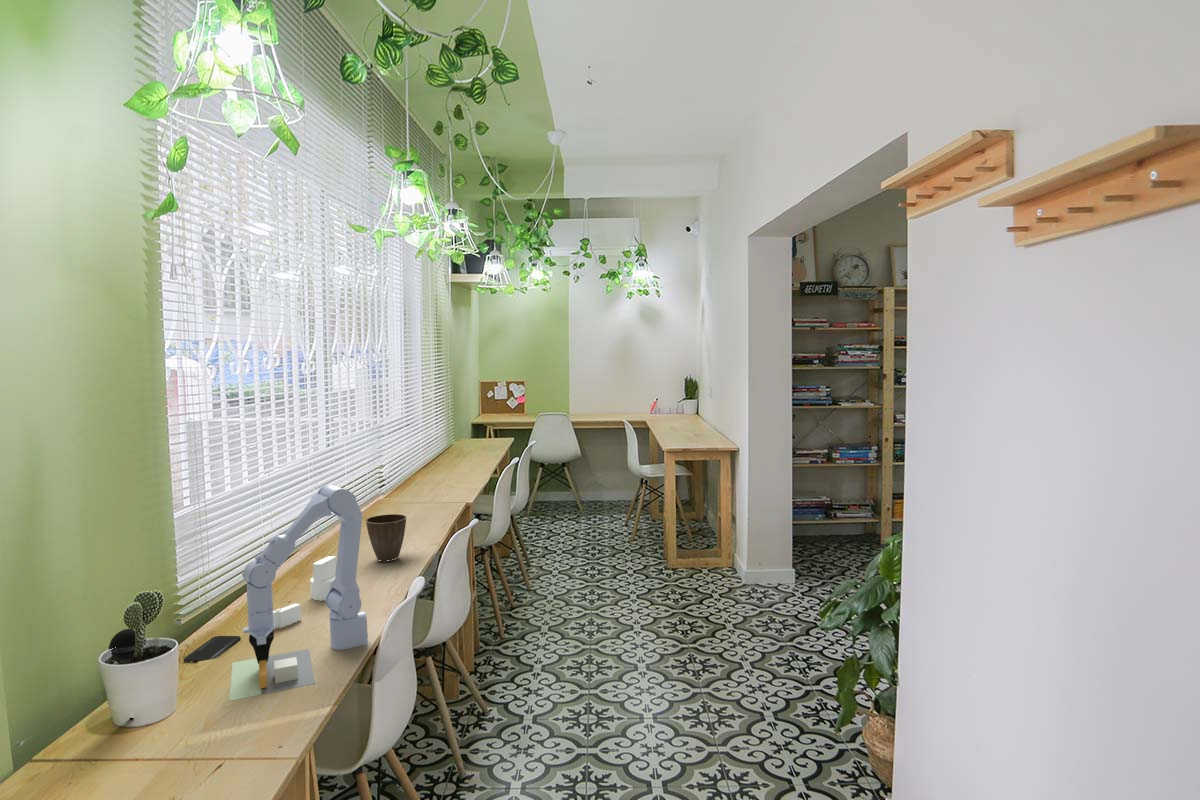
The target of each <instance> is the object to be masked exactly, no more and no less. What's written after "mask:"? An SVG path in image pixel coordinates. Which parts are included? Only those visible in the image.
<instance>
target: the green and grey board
mask: <svg viewBox="0 0 1200 800" xmlns="http://www.w3.org/2000/svg"><path fill="white" fill-rule="evenodd" d="M293 657H296V658H297V667H298V679H295V680H290V681H285V682H280V683H275V671H274V661H277V660H282V659H287V658H293ZM312 664H313V663H312V660H311V653H310V649H309V648H307V649H301V650H295V651H290V652H289V651H288V652H285V653H279V654H274V655H269V657H268V662H267V663H266V665H267V687H265V688H260V683H259V664H258V662H257V659H256V658H252V659H251V658H250V659H246V660H241V661H240V660H239V661H235V662H232V664H231V675H230V676H231V677H230V690H229V702H231V701H235V700H241V699H248V698H252V697H257V696H261V695H266V694H272V693H277V692H280V691H286V690H292V689H296V688H301V687H305V686H310V685H316V682H315V676H314V672H313V665H312Z"/></svg>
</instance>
